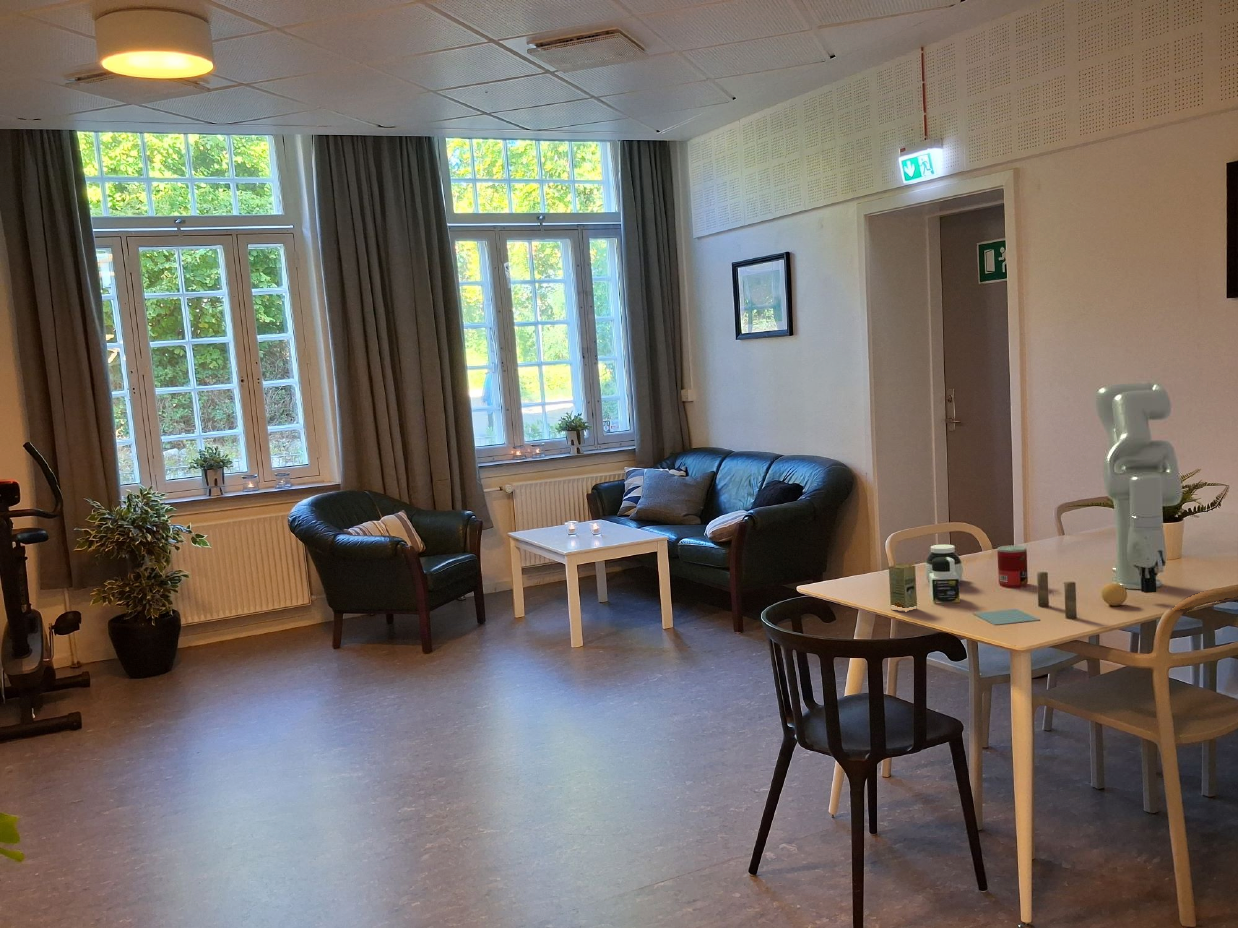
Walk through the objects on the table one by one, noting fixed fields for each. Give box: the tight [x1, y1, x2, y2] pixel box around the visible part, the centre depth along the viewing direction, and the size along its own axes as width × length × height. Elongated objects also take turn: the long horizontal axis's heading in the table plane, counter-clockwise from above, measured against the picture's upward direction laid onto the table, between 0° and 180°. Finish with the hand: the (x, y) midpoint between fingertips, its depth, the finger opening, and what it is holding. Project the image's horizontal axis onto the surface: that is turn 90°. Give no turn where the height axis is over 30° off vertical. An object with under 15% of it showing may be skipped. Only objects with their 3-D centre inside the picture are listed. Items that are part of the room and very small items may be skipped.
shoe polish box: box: [888, 563, 918, 608], centre depth 277 cm, size 5×5×12 cm
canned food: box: [997, 544, 1029, 589], centre depth 296 cm, size 8×8×11 cm
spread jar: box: [925, 544, 964, 584], centre depth 304 cm, size 12×11×12 cm
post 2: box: [1063, 581, 1078, 620], centre depth 257 cm, size 3×3×9 cm
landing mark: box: [972, 608, 1041, 626], centre depth 262 cm, size 12×12×1 cm
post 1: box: [1036, 571, 1050, 608], centre depth 270 cm, size 3×3×9 cm
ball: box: [1101, 582, 1128, 607], centre depth 265 cm, size 6×6×6 cm
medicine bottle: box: [929, 557, 961, 603], centre depth 284 cm, size 7×7×12 cm
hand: (1148, 591), depth 266 cm, fingers closed
